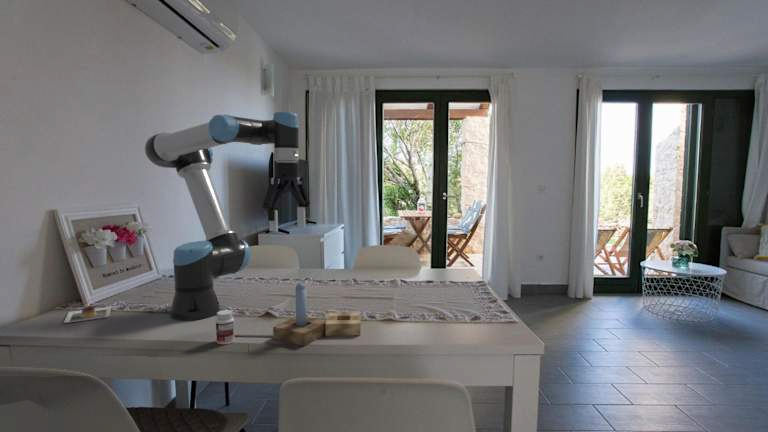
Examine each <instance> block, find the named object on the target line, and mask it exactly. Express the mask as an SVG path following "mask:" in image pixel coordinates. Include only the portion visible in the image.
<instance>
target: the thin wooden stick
mask: <svg viewBox="0 0 768 432" xmlns="http://www.w3.org/2000/svg"><path fill="white" fill-rule="evenodd" d="M235 337H239V338H241V337H242V338H243V337H246V338H248V337H249V338H250V337H251V338H255V337H256V338H261V337H263V338H273V333H235Z"/></svg>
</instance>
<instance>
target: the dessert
mask: <svg viewBox="0 0 768 432" xmlns="http://www.w3.org/2000/svg"><path fill="white" fill-rule="evenodd" d="M111 310H112V306H104V307H97V308H95V307H94V306H93V305H91V303H88V302H87V303H86V304H85V305H84V307H83V308H82V309H81V310H73V311H68V312H67V313H66V314H67V315H66V316H65V319H64V321H63V323H64V324H71V323H72V324H73V323H77V322H84V321H85V322H86V321H93V320H99V319H107V318H109V317H110V315H111ZM99 311H105V316H100V317H95V316H97V315H98V314H97V312H99ZM75 314H80V318H82V319H78V320H72V321H71V319H72V317H73V315H75Z"/></svg>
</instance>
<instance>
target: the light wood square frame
mask: <svg viewBox="0 0 768 432" xmlns="http://www.w3.org/2000/svg"><path fill="white" fill-rule="evenodd" d="M325 321H326V323H325V337H327V336H329V337H334V336H335V337H336V336H337V337H338V336H361V323H362V321H361V312H360V311H359V312H327V315H326V320H325Z"/></svg>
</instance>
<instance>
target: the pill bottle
mask: <svg viewBox="0 0 768 432" xmlns="http://www.w3.org/2000/svg"><path fill="white" fill-rule="evenodd" d="M215 333H216V335H215V336H216V343H217V344H219V345H228V344H229V345H230V344H232V343H234V342H235V337H236V336H235V334H236V333H235V318H234V316H233V310H230V309H224V310H220V311H219V312H217V314H216V320H215Z"/></svg>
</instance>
